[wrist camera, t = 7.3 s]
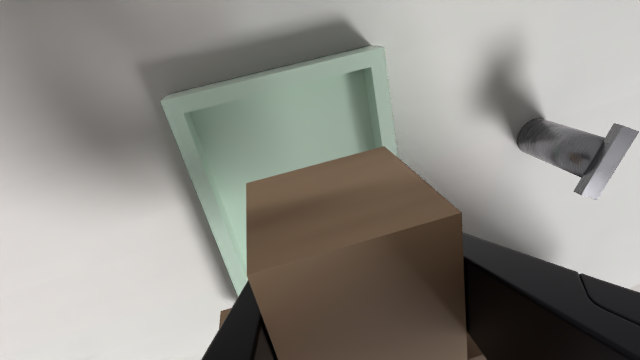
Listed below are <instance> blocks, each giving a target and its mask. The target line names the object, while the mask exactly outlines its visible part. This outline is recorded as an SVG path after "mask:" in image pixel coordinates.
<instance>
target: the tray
mask: <svg viewBox="0 0 640 360" xmlns="http://www.w3.org/2000/svg"><path fill="white" fill-rule="evenodd" d="M160 102H161V105H162V107H163V110H164V112H165V115H166V117H167V120H168V122H169V125H170V127H171V130H172V132H173V135H174V137H175V140H176V142H177V145H178V147H179V150H180V152H181V155H182V157H183V160H184V162H185V165H186V167H187V170H188V172H189V175H190V177H191V180H192V182H193V185H194V187H195V190H196V192H197V195H198V197H199V200H200V203H201V205H202V208H203V210H204V213H205V215H206V218H207V220H208V223H209V225H210V228H211V230H212V233H213V235H214V238H215V240H216V243H217V245H218V248H219V250H220V253H221V255H222V258H223V260H224V263H225V265H226V268H227V270H228V273H229V275H230V278H231V280H232V283H233V285H234V288H235V290H236V293H237V295H238V296H239V295H240V293H241V291H242V290H243V288H244V286H245V284H246V283H247V281H248V278H247V249H246V183H249V182H253V181H256V180H260V179H264V178H267V177H271V176H275V175H279V174H282V173H286V172H290V171H294V170H297V169H301V168H305V167H308V166H312V165H316V164H320V163H323V162H327V161H331V160H335V159H338V158H342V157H346V156H349V155H353V154H357V153H361V152H364V151H368V150H372V149H376V148H379V147H383V146H385V147H386V148H387V149H388V150H389V151H391V152H392V153H393V154H394V155H395V156H396V157H398V155H397V147H396V139H395V131H394V123H393V115H392V107H391V99H390V91H389V83H388V75H387V67H386V59H385V51H384V47H381V46H373V45H371V46H366V47H362V48H358V49H354V50H350V51H346V52H342V53H337V54H333V55H329V56H325V57H321V58H317V59H313V60H308V61H304V62H300V63H296V64H292V65H288V66H284V67H280V68H275V69H271V70H267V71H263V72H259V73H255V74H251V75H246V76H242V77H238V78H234V79H230V80H226V81H222V82H217V83H213V84H209V85H205V86H201V87H197V88H193V89H188V90H184V91H180V92H176V93H172V94H168V95H167V96H166V97H165V98H164V99H162V100H161V101H160Z"/></svg>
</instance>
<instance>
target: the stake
mask: <svg viewBox="0 0 640 360" xmlns="http://www.w3.org/2000/svg"><path fill="white" fill-rule="evenodd" d="M638 133H639V131H636V130H633V129H631V128H628V127H625V126H623V125H619V124H615V123H614V124H613V126H612V128H611V129H610V131H609V133H608V134H607V136H606V138H604V137H600V136H597V135H594V134H590V133H587V132H584V131H580V130H577V129H574V128H570V127H567V126H564V125H561V124H557V123H554V122H551V121H547V120H544V119H534V120H531V121H529V122H528V123H527V124H526V125H525V126H524V127H523V128H522V129H521V131H520V133H519V136H518V146H519V148H520V150H521V151H523V152H525V153H527V154H529V155H531V156H534V157H536V158H538V159H540V160H543V161H545V162H547V163H550V164H552V165H554V166H556V167H559V168H561V169H563V170H565V171H568V172H570V173H572V174H574V175H577V176H579V177H581V180H580V181H579V183H578V185H577V186H576V188H575V190H574V192H576V193H578V194H580V195H582V196H586V197H589V198H593V199H596V200H597V199H598V197H599V195H600V194H601V192H602V191H603V189H604V187H605V186H606V184H607V183H608V181H609V179H610V178H611V176H612V175H613V173H614V171H615V170H616V168H617V166H618V165H619V163H620V162H621V160H622V158H623V157H624V155H625V154H626V152H627V150H628V149H629V147H630V146H631V144H632V142H633V141H634V139H635V138H636V136H637V134H638Z"/></svg>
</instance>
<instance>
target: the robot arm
mask: <svg viewBox="0 0 640 360" xmlns="http://www.w3.org/2000/svg"><path fill="white" fill-rule="evenodd" d="M462 237H463V262H464V287H465V311H466V331H467V333H468V334H469V335H470V337H471V338H472V340H473V341H474V342H475V344H476V345H477V347H478V348H479V349H480V351H481V352H482V354H483V355H484V356H485V358H486V359H487V360H640V293H639V292H636V291H633V290H630V289H627V288H624V287H621V286H618V285H615V284H612V283H609V282H605V281H602V280H599V279H596V278H594V277H591V276H588V275H585V274H578V272H576V271H573V270H570V269H567V268H564V267H561V266H558V265H555V264H553V263H550V262H547V261H544V260H541V259H538V258H535V257H532V256H529V255H526V254H523V253H521V252H518V251H515V250H512V249H509V248H506V247H503V246H500V245H497V244H494V243H491V242H488V241H486V240H483V239H480V238H477V237H474V236H471V235H468V234H465V233H462ZM201 360H278V358H277V355H276V352H275V350H274V347H273V344H272V342H271V339H270V336H269V334H268V331H267V328H266V326H265V323H264V320H263V318H262V315H261V312H260V310H259V307H258V304H257V302H256V299H255V296H254V294H253V291H252V288H251V286H250V283H249V280H248V281H247V283H246V284H245V286H244V288H243V290H242V291H241V293H240V295H239V296H238V298H237V300H236V301H235V303H234V305H233V307H232V308H231V310H230V312H229V313H228V315H227V317H226V318H225V320H224V322H223V324H222V325H221V327H220V329H219V330H218V332H217V334H216V336H215V337H214V339H213V341H212V342H211V344H210V346H209V347H208V349H207V351H206V353H205V354H204V356H203V358H202V359H201Z"/></svg>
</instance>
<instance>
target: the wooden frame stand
mask: <svg viewBox="0 0 640 360" xmlns="http://www.w3.org/2000/svg"><path fill="white" fill-rule="evenodd" d="M246 249H247V278H248V280H249V283H250V286H251V288H252V291H253V294H254V296H255V299H256V302H257V304H258V307H259V310H260V312H261V315H262V318H263V320H264V323H265V326H266V328H267V331H268V334H269V336H270V339H271V342H272V344H273V347H274V350H275V352H276V355H277V358H278V360H487V359H486V358H485V356H484V355H483V354H482V352H481V351H480V349H479V348H478V347H477V345H476V344H475V342H474V341H473V340H472V338H471V337H470V335H469V334H468V333H467V331H466V311H465V287H464V262H463V237H462V213H461V212H460V211H459V210H458V209H457V208H455V207H454V206H453V205H452V204H451V203H450V202H449V201H447V200H446V199H445V198H444V197H443V196H442V195H440V194H439V193H438V192H437V191H436V190H435V189H433V188H432V187H431V186H430V185H429V184H428V183H427V182H425V181H424V180H423V179H422V178H421V177H420V176H418V175H417V174H416V173H415V172H414V171H413V170H411V169H410V168H409V167H408V166H407V165H406V164H405V163H403V162H402V161H401V160H400V159H399V158H398V157H396V156H395V155H394V154H393V153H392V152H391V151H389V150H388V149H387V148H386V147H385V146H383V147H379V148H376V149H372V150H368V151H364V152H361V153H357V154H353V155H349V156H346V157H342V158H338V159H335V160H331V161H327V162H323V163H320V164H316V165H312V166H308V167H305V168H301V169H297V170H294V171H290V172H286V173H282V174H279V175H275V176H271V177H267V178H264V179H260V180H256V181H253V182H249V183H246ZM230 310H231V308H230V309H227V310H223V311H221V314H220V326H219V329H220V327H221V325H222V324H223V322H224V320H225V318H226V317H227V315H228V313H229V312H230Z"/></svg>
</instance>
